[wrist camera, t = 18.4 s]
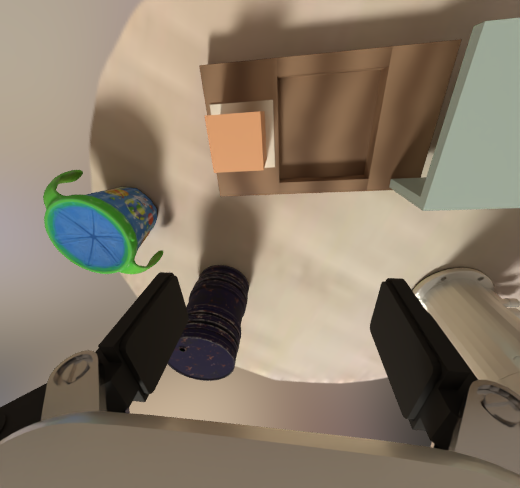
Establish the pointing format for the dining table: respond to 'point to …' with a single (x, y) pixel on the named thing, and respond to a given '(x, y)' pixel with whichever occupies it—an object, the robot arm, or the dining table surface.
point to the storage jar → (212, 325)
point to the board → (335, 115)
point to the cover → (477, 130)
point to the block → (237, 141)
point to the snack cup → (100, 226)
